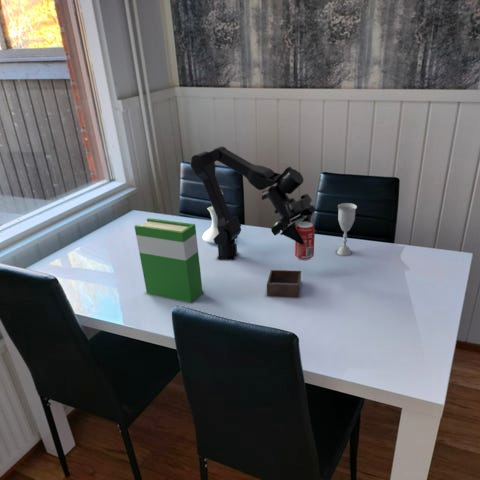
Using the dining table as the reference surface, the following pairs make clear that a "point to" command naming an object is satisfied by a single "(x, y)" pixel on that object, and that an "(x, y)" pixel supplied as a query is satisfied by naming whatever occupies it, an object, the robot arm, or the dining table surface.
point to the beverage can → (305, 241)
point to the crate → (284, 289)
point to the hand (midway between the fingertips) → (308, 240)
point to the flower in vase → (213, 230)
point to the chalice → (346, 223)
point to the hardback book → (170, 259)
